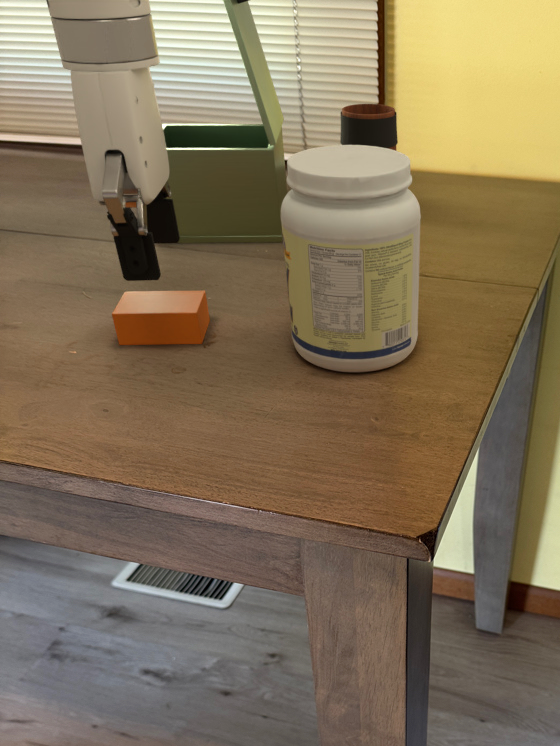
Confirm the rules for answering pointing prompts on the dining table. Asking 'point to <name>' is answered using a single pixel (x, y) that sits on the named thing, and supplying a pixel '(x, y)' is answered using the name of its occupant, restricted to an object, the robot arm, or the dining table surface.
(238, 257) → the dining table surface
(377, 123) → the mug
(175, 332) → the orange block
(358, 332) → the supplement tub
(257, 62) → the bin lid
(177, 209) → the bin
